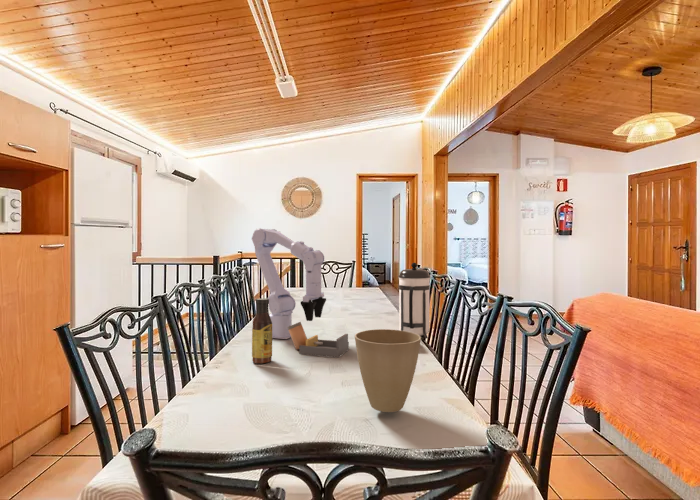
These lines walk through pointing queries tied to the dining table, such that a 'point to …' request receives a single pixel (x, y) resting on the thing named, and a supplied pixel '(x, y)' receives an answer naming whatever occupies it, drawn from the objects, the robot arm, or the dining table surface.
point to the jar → (297, 335)
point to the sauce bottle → (262, 333)
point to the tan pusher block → (313, 341)
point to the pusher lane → (327, 347)
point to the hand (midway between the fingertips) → (313, 318)
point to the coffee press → (414, 301)
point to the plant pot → (387, 366)
